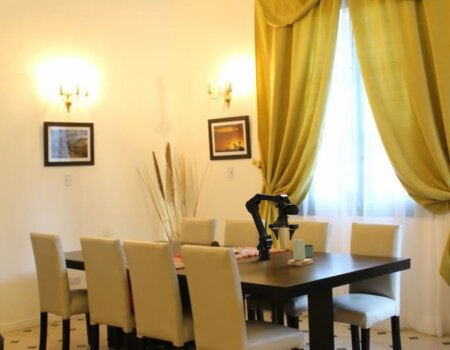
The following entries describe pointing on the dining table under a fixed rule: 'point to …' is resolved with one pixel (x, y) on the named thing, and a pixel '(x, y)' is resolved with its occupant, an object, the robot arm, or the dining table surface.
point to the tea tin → (299, 249)
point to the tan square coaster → (300, 262)
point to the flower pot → (309, 251)
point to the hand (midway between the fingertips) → (283, 240)
